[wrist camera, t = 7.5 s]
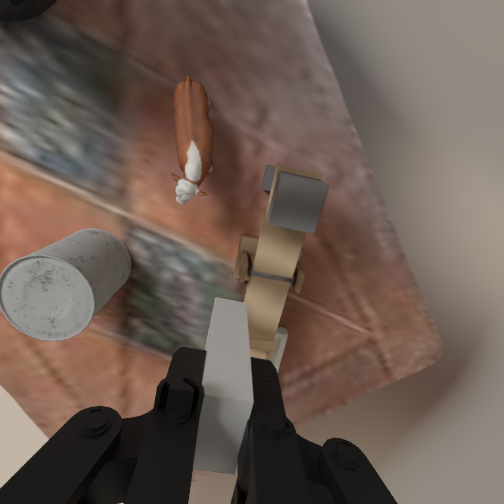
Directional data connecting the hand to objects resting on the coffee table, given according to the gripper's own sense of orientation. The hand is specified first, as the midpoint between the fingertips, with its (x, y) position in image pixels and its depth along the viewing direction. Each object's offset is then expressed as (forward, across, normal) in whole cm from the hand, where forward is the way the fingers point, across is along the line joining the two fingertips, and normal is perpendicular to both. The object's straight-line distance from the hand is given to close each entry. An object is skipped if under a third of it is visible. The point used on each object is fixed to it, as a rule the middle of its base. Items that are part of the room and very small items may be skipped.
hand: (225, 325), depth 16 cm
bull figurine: (+30, -6, +8) cm, 31 cm away
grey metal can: (+30, -17, -10) cm, 36 cm away
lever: (+23, +6, -5) cm, 25 cm away
